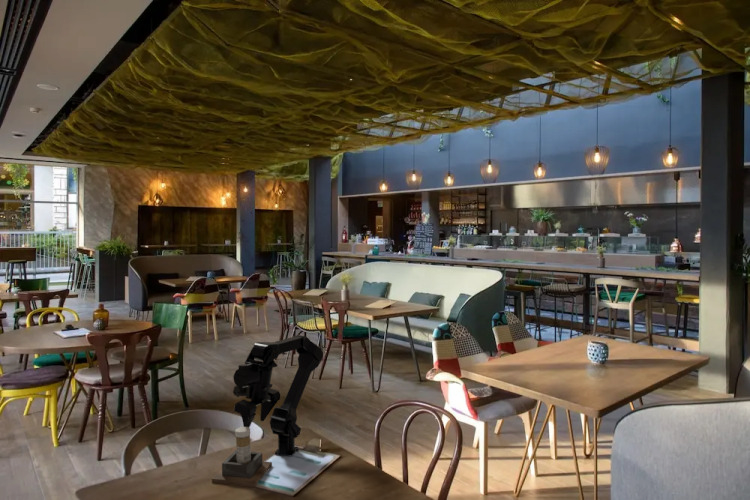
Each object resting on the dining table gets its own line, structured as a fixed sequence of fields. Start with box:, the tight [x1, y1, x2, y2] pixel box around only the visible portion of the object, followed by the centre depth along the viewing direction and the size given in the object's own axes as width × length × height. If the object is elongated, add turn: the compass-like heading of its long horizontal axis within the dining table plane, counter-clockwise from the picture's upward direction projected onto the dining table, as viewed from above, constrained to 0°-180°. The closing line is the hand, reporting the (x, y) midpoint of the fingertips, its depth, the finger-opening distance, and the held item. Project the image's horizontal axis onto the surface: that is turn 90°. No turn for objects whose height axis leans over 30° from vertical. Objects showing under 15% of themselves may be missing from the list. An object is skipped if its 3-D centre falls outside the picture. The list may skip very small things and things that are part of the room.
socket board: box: [211, 450, 273, 488], centre depth 166 cm, size 14×14×5 cm
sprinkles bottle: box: [234, 426, 252, 464], centre depth 166 cm, size 5×5×13 cm
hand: (254, 425), depth 173 cm, fingers open, 9 cm apart
